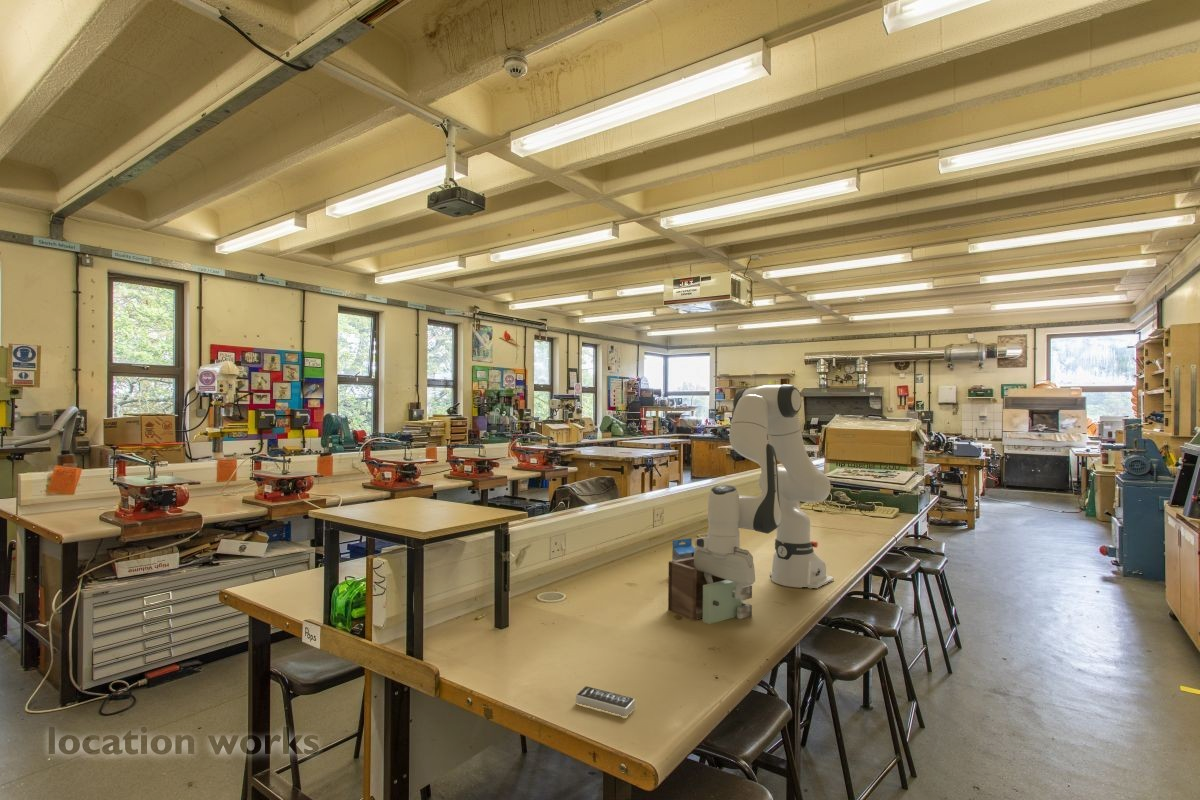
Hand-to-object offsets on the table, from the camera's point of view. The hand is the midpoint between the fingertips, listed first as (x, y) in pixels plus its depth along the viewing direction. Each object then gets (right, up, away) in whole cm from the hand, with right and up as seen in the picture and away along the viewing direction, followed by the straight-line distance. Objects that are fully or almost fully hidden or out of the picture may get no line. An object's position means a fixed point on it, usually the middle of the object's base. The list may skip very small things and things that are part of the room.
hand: (723, 593), depth 160 cm
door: (0, -7, 0) cm, 7 cm away
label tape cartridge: (-5, -8, +42) cm, 43 cm away
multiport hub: (-34, -6, -49) cm, 60 cm away
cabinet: (-3, -7, +4) cm, 9 cm away
